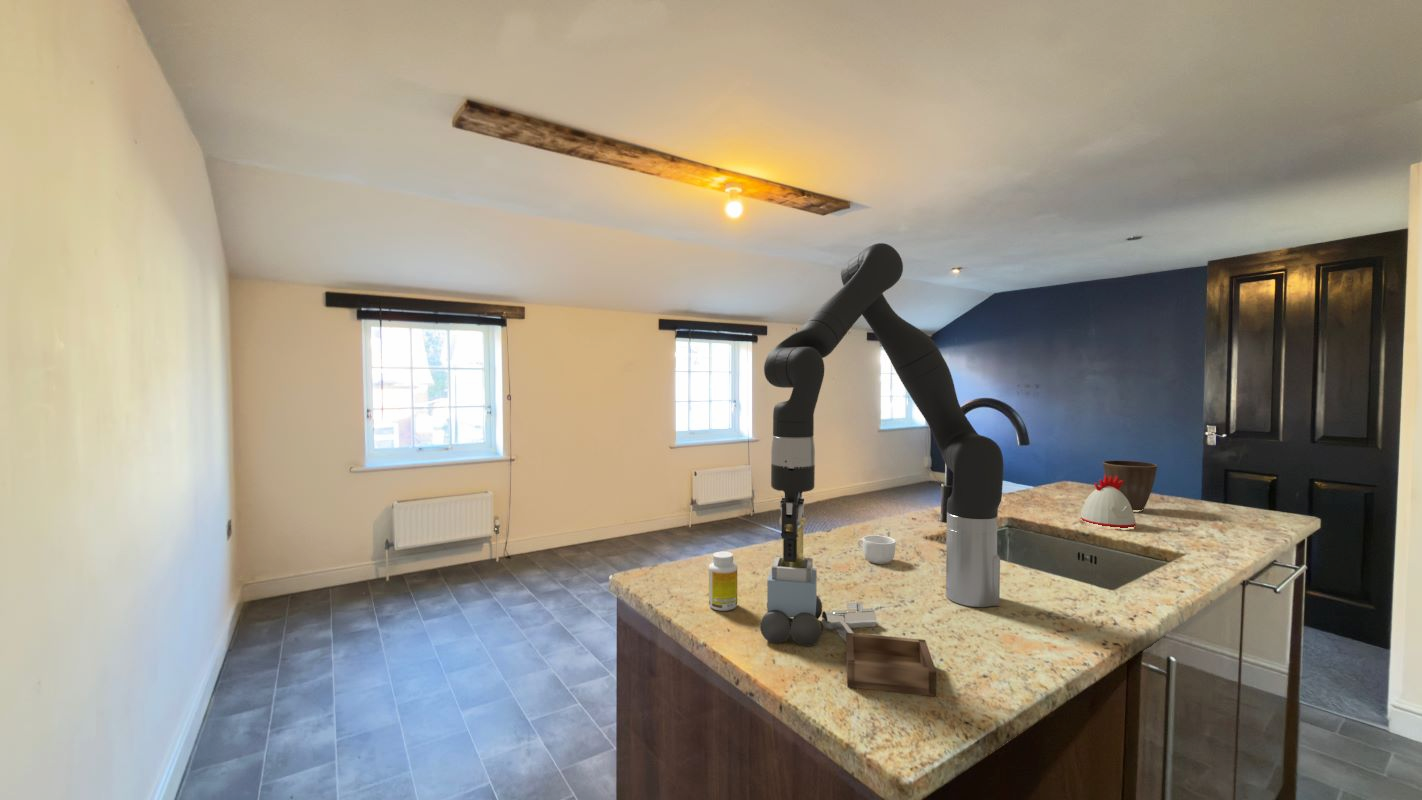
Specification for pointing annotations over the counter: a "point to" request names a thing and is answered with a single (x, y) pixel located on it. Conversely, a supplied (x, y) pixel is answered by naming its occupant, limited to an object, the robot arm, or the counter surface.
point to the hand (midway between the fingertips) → (792, 553)
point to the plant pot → (1133, 480)
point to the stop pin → (799, 546)
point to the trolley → (792, 604)
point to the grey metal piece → (849, 619)
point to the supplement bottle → (723, 582)
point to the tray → (889, 664)
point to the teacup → (878, 548)
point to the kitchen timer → (1108, 506)
